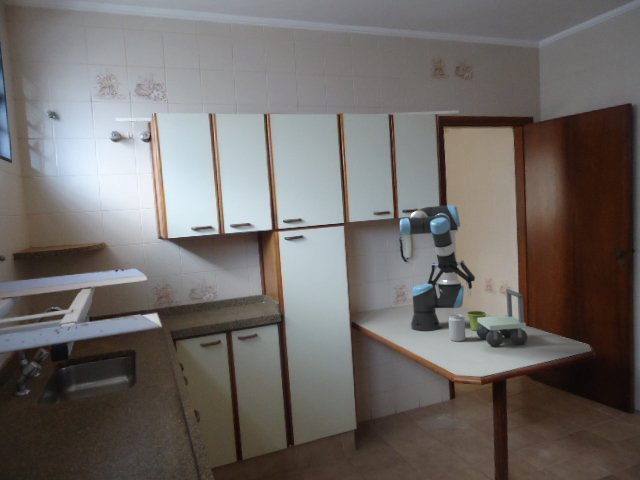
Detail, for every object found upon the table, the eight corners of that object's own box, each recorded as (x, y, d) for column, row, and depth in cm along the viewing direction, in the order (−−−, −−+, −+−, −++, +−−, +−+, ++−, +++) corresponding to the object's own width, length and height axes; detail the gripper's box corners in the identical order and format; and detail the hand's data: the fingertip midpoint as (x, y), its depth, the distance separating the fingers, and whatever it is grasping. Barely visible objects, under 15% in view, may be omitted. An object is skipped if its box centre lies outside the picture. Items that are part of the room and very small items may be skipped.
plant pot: (484, 326, 240) (483, 310, 239) (489, 331, 230) (488, 314, 230) (466, 327, 241) (465, 311, 240) (470, 332, 231) (469, 315, 231)
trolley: (476, 338, 220) (473, 291, 219) (513, 335, 221) (511, 288, 219) (488, 348, 204) (486, 297, 203) (528, 345, 205) (526, 294, 203)
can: (466, 338, 222) (465, 313, 221) (464, 342, 215) (463, 317, 215) (450, 337, 225) (449, 313, 225) (448, 341, 219) (446, 316, 218)
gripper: (415, 259, 201) (425, 301, 208) (474, 253, 190) (482, 298, 196) (418, 252, 207) (428, 293, 214) (475, 246, 196) (483, 289, 203)
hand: (454, 295), depth 205 cm, fingers open, 13 cm apart
